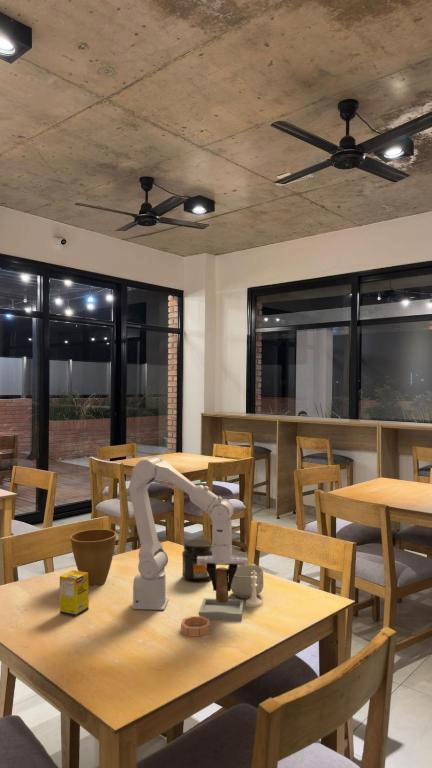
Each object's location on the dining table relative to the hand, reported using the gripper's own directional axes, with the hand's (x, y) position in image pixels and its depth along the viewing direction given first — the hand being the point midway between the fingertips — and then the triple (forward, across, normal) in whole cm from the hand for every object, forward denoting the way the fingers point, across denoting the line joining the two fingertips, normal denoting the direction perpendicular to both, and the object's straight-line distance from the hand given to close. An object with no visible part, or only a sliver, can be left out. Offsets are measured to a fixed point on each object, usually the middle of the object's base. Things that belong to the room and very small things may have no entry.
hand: (222, 589), depth 158 cm
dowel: (+3, 0, 0) cm, 3 cm away
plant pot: (+7, -45, +19) cm, 49 cm away
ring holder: (+6, -6, -12) cm, 15 cm away
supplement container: (+7, -11, +27) cm, 30 cm away
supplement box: (+7, -43, -4) cm, 44 cm away
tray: (+6, 0, 0) cm, 6 cm away
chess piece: (+7, +9, +7) cm, 13 cm away
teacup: (+7, +7, +15) cm, 18 cm away
